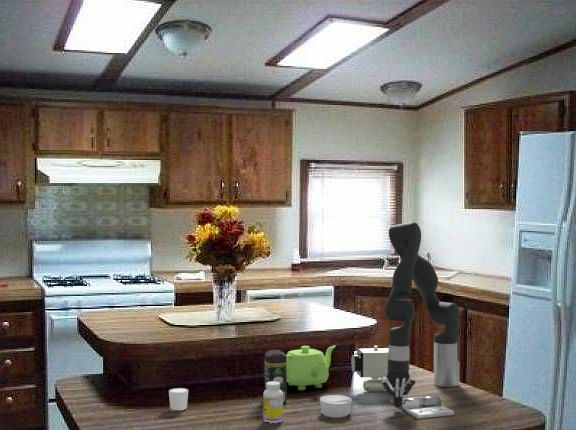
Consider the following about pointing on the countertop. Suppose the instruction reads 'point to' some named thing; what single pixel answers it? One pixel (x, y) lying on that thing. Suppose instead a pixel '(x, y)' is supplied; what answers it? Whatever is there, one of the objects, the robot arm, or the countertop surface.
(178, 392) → the shot glass
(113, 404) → the countertop surface
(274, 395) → the supplement bottle
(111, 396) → the countertop surface
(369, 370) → the ball valve
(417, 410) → the loose leaf
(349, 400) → the ramekin
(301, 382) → the teapot
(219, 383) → the countertop surface
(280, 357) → the coffee jar
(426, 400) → the fixed leaf
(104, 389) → the countertop surface
